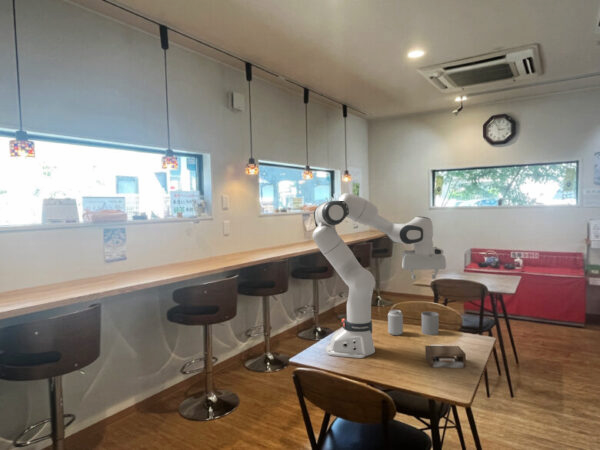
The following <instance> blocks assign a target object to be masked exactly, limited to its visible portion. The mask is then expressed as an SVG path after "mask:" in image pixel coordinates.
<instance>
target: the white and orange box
mask: <svg viewBox="0 0 600 450" xmlns="http://www.w3.org/2000/svg"><path fill="white" fill-rule="evenodd" d="M429 346H445V344H429ZM454 357H455V356H454ZM454 357H453V356H435V358H436V359H437V361H455V359H456V358H455V359H454Z"/></svg>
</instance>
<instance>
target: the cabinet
mask: <svg viewBox="0 0 600 450" xmlns="http://www.w3.org/2000/svg"><path fill="white" fill-rule="evenodd" d="M424 347H425V349H424V350H425V351H424V352H425V354H424V355H425V360H426V361H427V363H428V365H429V366H430V368H449V369H450V368H452V369H453V368H455V369H456V368H458V369H460V368H461V369H462V368H463V369H464V368H467V367H466V366H467V365H466V364H467V360H466V357H467V354H466V352H464V350H463V349H462V348H461V346H459V345H444V346H430V345H425V346H424ZM435 356H453V357H454V359H455V361H437V359H436V358H435Z"/></svg>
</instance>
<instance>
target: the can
mask: <svg viewBox="0 0 600 450" xmlns="http://www.w3.org/2000/svg"><path fill="white" fill-rule="evenodd" d="M388 311H389V312H388V313H387V331H388V334H390V335H391V336H394V337H395V336H401V335H402V334H403V333H404V314H403V313H402V311H401V310H400V309H391V310H388Z"/></svg>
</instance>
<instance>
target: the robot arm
mask: <svg viewBox="0 0 600 450" xmlns="http://www.w3.org/2000/svg"><path fill="white" fill-rule="evenodd" d="M346 218H349V219H351V220H352V221H354V222H356V223H359V224H362V225H364V226H369V227H372V228H374V229H376V230H378V231H379V232H381V233H384V234H385V236H387V238H388V239H389V240H390V241H391V242H392V243H394V244H401V245H402V244H403V245H412V244H413V249H409V250H404V251H402V252H401V268H402V269H403V270H404V271H407V270H408V271H409V273H410V274H411V279H412V280H416V277H417V275H416V274H414V273H413V272H414V271H415V270H416V271H418V270H421V271H423V270H433V272H434V273H433V274H431V279H432V280H433V279H437V275H438V273H439V270H445V269H446V268H447V263H446V262H447V261H446V256H445V255H444V250H443V249H442V248H439V247H437V246H434V242H433V236H434V226H433V222H432V221H433V220H431V218H429V217H426V216H421V215H420V216H415V217H414V218H413V219H412V220H410V221H408V222H405V223H401V222H392V221H389V220H387V219H386V218H384V217H382V216H381V215H380V214H379V211H378V207H377V206H376V205H374V204H373V202H370V201H369V200H367V199H365V198H363V197H361V196H359V195H356V194H354V193H350V192H344V193H343V194H341V195H340V196H339V198H338V200H331V201H325V202H322V203H321V204H319V205H317V207H315V209H314V211H313V220H314V224H315V227H316V228H315V229H314V230H313V232H312V239H313V242H314V243H315V245H316V247H317V248H318V249H319V252H321V254H322V255H323V256H324V257H325V258H326V260H327V261H328V262H329V264H330V265H331V266H332V267H333V269H334V270H335V272H336V273H337V274H338V275H339V277H340V278H341V280H342V281H343V282H344V283H345V285H346V286H347V287H348V297H347V302H346V318H342V319H341V323H342V328H341V329H339V330H338V331H337V332H335V333H333V335H332V336H331V339H330V340H331V341H330V342H329V343H328V344H326V349H325V351H326V354H327V355H329V356H333V357H344V358H354V359H364V358H365V357H367V356H371V355H373V354H375V352H376V349H375V345H374V340H373V320H372V298H373V293H374V289H375V286H376V278H375V277H374V275H373V273H371V271H369V270H368V269H366V268H365V267H363V266H362V265H361V264H360V262H359V261H358V259H357V258H356V256H355V255H354V252H353V251H352V250H351V248H350V247H349V246H348V245H347V243H346V242H345V241H344V240H343V238H342V237H341V236H340V235H339V234H338V231H337V230H336V225H339V224H341V223H342V222H343V221H344V220H345V219H346Z"/></svg>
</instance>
